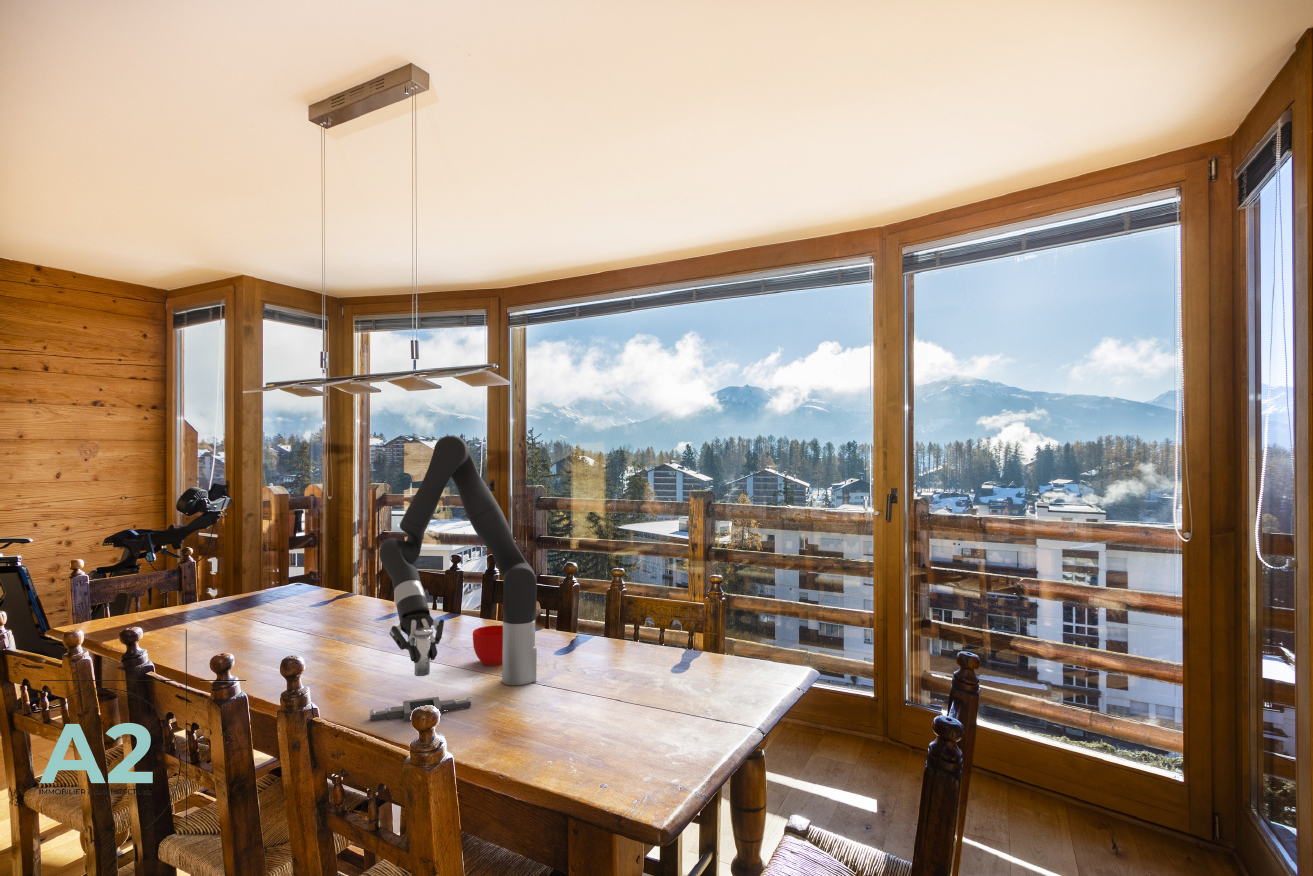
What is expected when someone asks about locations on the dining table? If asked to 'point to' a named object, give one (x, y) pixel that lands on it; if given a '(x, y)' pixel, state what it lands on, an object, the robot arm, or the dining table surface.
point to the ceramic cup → (489, 644)
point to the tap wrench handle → (412, 704)
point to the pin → (423, 650)
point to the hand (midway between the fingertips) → (425, 659)
